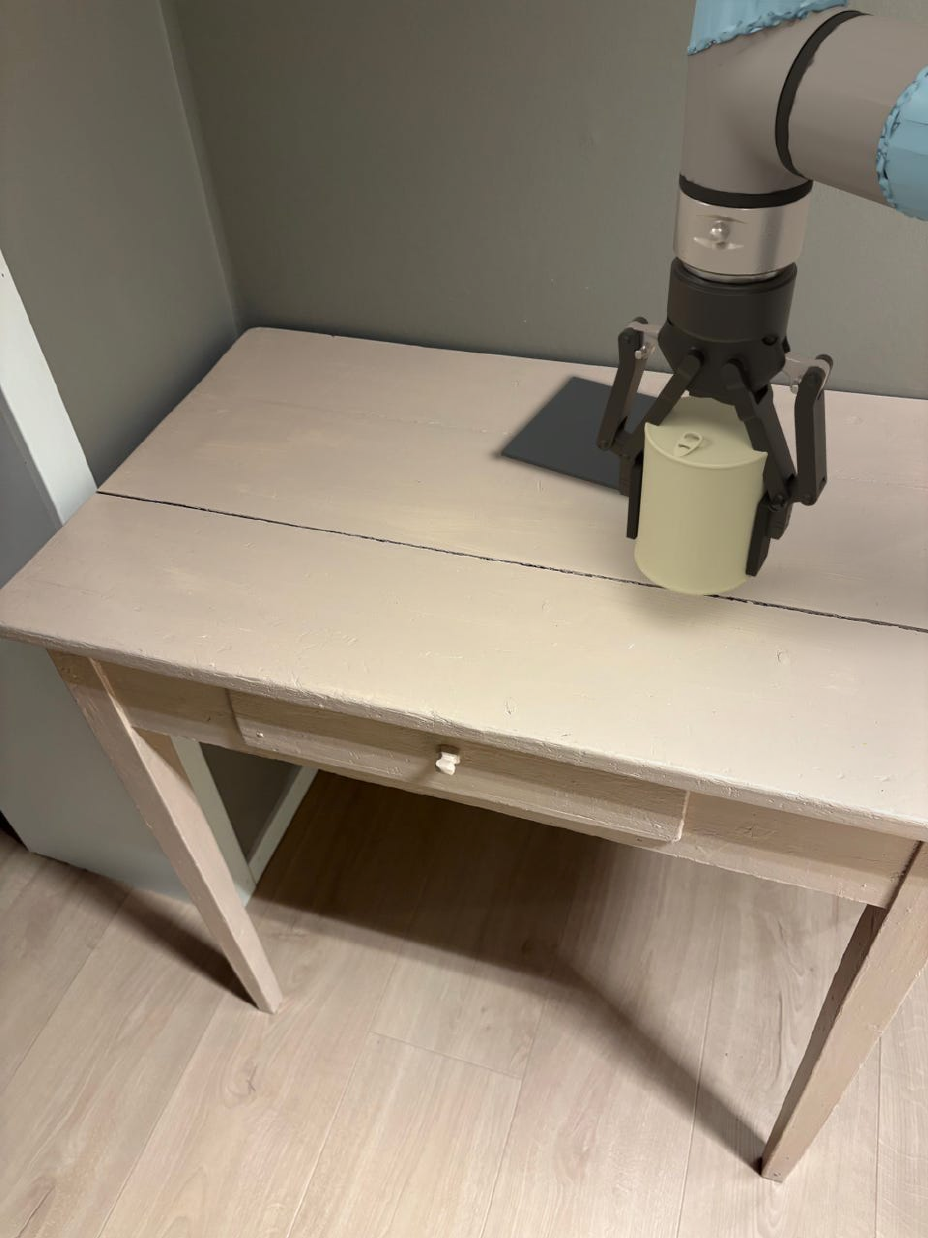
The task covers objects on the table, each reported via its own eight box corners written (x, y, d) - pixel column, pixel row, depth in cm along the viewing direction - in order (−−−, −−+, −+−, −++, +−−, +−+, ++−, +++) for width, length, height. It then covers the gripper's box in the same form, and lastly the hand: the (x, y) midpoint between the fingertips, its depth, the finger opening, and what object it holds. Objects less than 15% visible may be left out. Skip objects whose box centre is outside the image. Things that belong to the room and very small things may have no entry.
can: (610, 562, 74) (617, 429, 66) (677, 505, 79) (692, 374, 71) (713, 613, 69) (735, 476, 61) (778, 550, 74) (807, 414, 66)
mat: (752, 424, 97) (752, 421, 96) (692, 512, 87) (692, 508, 87) (573, 379, 105) (573, 376, 104) (501, 454, 95) (500, 451, 95)
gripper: (547, 252, 60) (547, 533, 76) (905, 317, 51) (822, 621, 67) (599, 209, 65) (589, 483, 80) (936, 263, 56) (852, 560, 71)
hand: (695, 546), depth 74 cm, fingers closed on can, 9 cm apart
